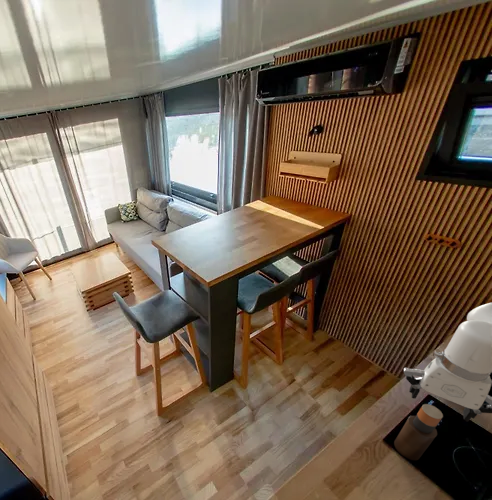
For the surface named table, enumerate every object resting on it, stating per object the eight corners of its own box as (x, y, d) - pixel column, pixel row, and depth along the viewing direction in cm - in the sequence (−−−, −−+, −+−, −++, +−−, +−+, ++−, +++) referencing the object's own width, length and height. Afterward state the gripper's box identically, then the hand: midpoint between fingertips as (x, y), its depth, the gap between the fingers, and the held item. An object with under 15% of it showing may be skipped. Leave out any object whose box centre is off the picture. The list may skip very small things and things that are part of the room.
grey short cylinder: (432, 425, 75) (437, 417, 73) (432, 436, 73) (437, 429, 71) (413, 416, 78) (417, 408, 76) (412, 427, 75) (417, 420, 74)
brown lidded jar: (420, 447, 82) (437, 424, 75) (419, 465, 78) (437, 442, 72) (394, 434, 86) (408, 411, 79) (393, 450, 82) (407, 427, 75)
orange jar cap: (437, 417, 73) (442, 410, 71) (437, 429, 71) (443, 421, 69) (417, 409, 76) (422, 401, 74) (417, 420, 74) (421, 412, 72)
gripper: (413, 357, 66) (394, 396, 74) (528, 398, 54) (490, 439, 62) (414, 339, 70) (396, 377, 78) (521, 372, 58) (486, 414, 66)
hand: (438, 404), depth 70 cm, fingers open, 9 cm apart
